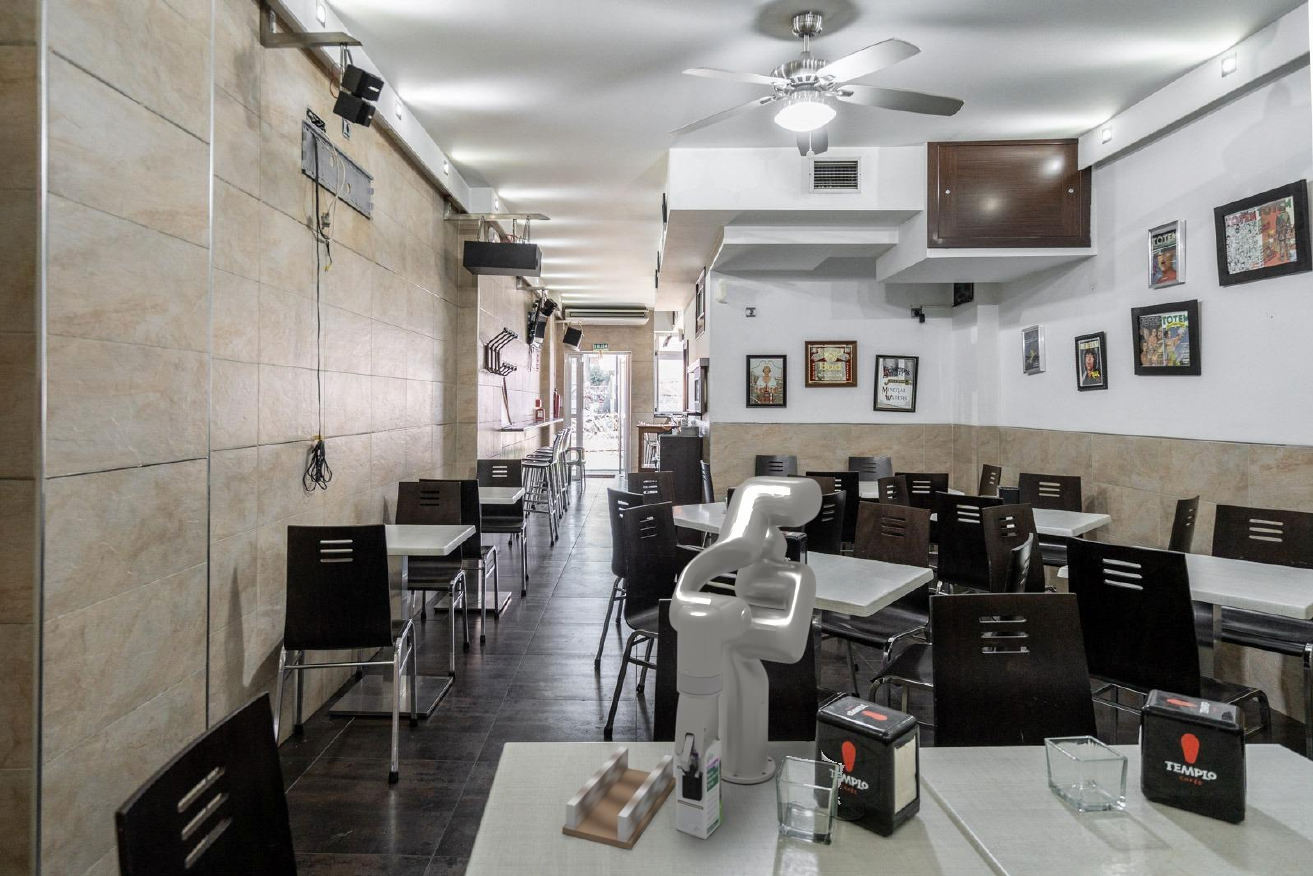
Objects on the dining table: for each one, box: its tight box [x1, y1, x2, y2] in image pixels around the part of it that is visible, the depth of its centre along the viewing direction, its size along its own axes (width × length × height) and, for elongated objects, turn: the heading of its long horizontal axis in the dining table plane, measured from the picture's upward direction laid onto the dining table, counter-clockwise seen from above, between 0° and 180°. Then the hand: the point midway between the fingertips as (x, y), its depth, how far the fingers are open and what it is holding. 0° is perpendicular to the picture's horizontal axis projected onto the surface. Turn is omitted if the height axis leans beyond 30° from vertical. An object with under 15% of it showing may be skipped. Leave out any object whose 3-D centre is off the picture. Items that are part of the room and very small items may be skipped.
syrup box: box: [675, 737, 723, 840], centre depth 119 cm, size 6×6×14 cm
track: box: [562, 745, 676, 850], centre depth 125 cm, size 22×12×5 cm, turn 159°
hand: (698, 787), depth 119 cm, fingers closed on syrup box, 6 cm apart
